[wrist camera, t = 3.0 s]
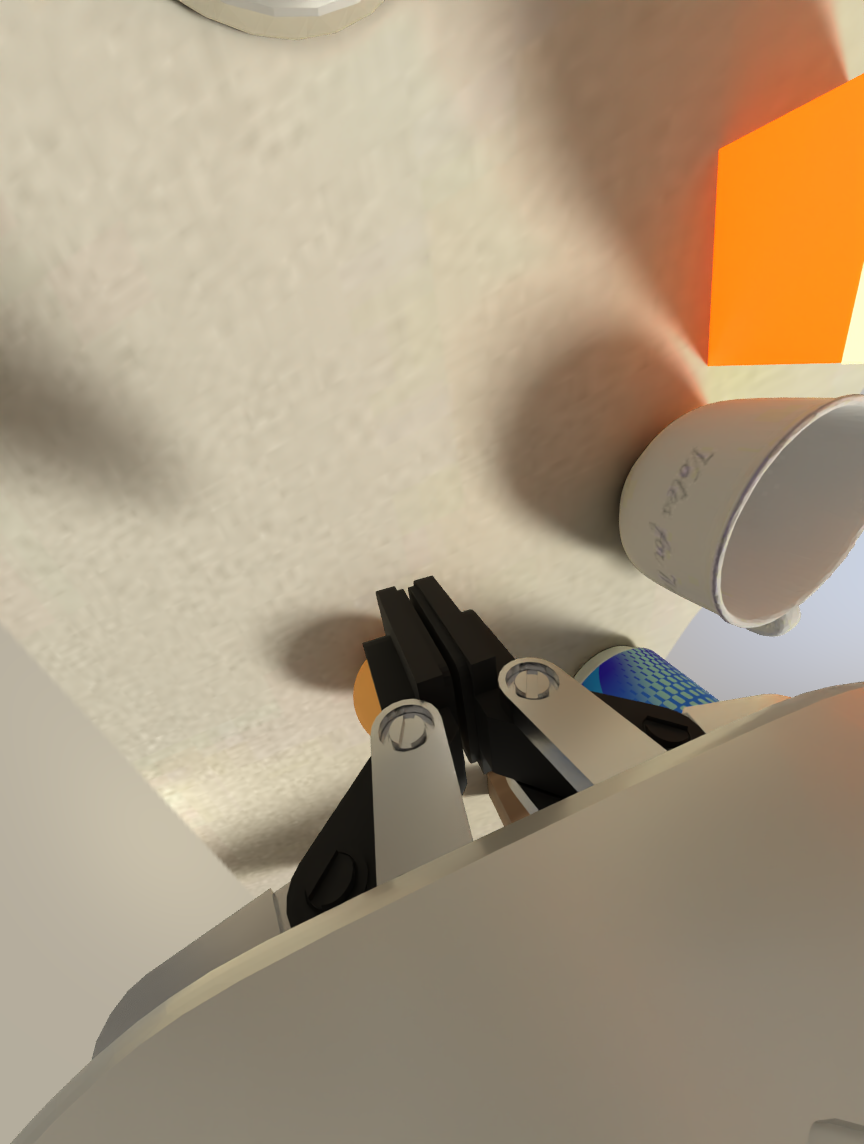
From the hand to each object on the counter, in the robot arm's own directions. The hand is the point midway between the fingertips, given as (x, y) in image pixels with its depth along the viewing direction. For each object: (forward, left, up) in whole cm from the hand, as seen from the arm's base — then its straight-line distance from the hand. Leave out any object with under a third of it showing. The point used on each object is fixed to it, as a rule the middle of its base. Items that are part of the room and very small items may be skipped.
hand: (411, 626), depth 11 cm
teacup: (+4, +19, -9) cm, 21 cm away
